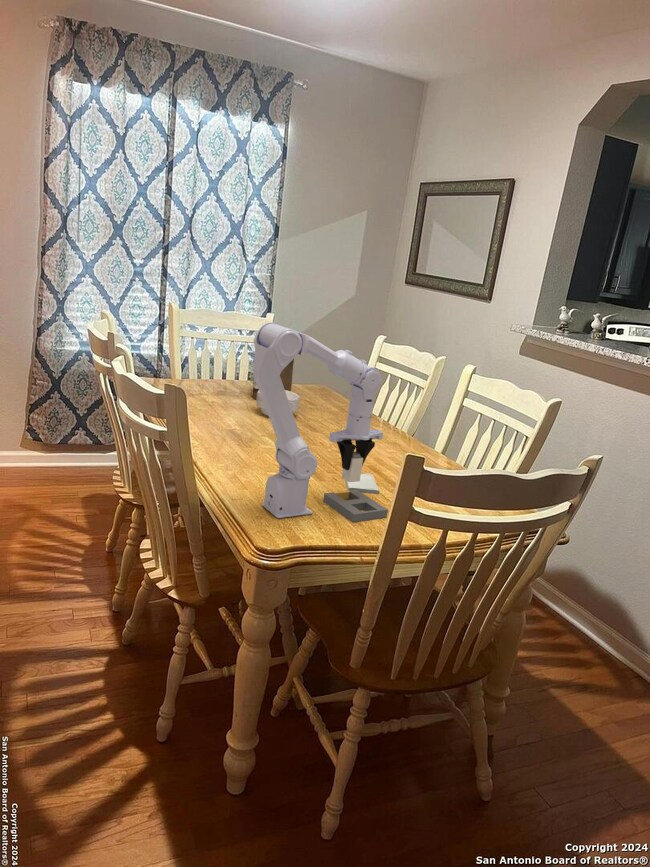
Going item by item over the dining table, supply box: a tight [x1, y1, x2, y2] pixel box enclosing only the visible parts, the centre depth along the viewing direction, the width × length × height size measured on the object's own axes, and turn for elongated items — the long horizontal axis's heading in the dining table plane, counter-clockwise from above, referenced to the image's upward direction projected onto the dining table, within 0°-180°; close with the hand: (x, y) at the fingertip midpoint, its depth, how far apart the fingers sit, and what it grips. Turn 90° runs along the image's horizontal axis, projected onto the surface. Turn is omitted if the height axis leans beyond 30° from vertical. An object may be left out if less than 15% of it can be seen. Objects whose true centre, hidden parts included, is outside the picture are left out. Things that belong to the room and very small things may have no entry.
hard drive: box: [344, 472, 380, 495], centre depth 178 cm, size 2×8×12 cm
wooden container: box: [251, 358, 295, 401], centre depth 254 cm, size 15×15×22 cm
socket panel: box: [322, 490, 389, 523], centre depth 160 cm, size 10×13×2 cm
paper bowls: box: [255, 390, 301, 417], centre depth 234 cm, size 15×15×8 cm
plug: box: [341, 451, 364, 482], centre depth 160 cm, size 3×3×7 cm
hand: (351, 468), depth 160 cm, fingers closed on plug, 3 cm apart
